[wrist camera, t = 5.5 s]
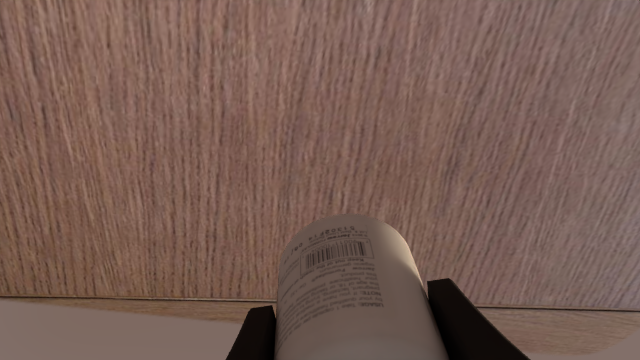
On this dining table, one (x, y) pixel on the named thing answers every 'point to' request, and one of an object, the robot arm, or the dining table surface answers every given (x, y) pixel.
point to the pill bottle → (352, 295)
